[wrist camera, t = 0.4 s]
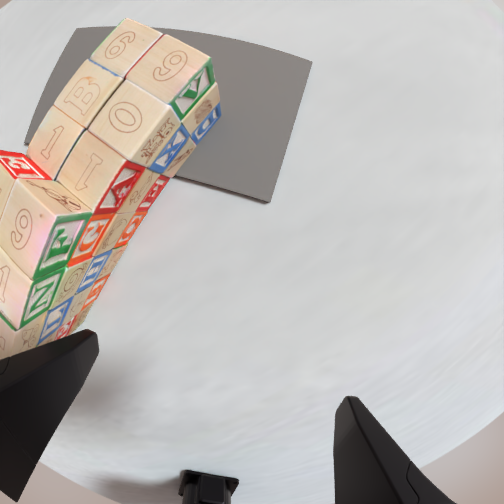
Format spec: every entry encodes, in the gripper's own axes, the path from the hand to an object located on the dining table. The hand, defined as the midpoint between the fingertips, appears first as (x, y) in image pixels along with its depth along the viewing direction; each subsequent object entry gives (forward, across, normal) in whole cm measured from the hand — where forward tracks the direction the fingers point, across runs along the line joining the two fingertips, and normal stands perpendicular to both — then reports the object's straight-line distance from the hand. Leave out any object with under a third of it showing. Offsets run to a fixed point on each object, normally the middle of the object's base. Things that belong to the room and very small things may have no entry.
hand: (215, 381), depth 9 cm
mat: (+15, +11, -11) cm, 22 cm away
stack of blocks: (+13, +12, -1) cm, 17 cm away
